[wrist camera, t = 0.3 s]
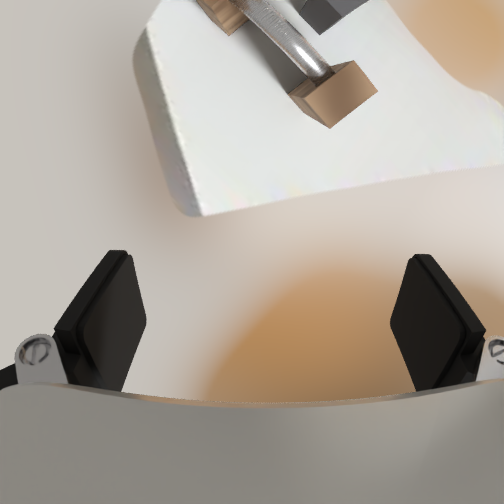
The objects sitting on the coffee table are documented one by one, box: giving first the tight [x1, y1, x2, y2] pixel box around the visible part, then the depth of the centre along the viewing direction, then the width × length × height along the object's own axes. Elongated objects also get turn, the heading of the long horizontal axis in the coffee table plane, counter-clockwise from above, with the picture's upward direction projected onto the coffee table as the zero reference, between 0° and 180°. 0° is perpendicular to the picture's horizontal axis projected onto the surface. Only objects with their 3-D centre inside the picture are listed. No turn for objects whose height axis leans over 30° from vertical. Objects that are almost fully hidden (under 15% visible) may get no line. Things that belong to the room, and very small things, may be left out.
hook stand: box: [196, 0, 378, 128], centre depth 25 cm, size 5×16×14 cm, turn 43°
